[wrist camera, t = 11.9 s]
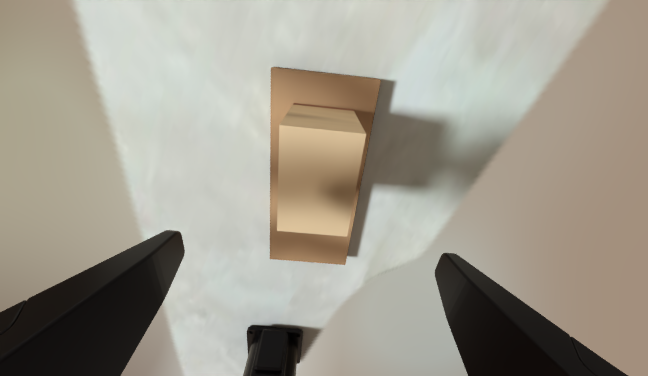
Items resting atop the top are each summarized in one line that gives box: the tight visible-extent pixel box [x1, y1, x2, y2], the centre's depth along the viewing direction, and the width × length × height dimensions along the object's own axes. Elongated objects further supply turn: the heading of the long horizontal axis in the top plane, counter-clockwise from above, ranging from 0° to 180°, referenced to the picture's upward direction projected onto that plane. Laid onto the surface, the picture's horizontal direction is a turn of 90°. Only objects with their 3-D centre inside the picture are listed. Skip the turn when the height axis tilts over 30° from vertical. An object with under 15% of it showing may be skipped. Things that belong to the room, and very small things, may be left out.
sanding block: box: [277, 103, 366, 237], centre depth 16 cm, size 6×4×6 cm, turn 174°
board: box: [270, 67, 381, 265], centre depth 20 cm, size 16×7×1 cm, turn 174°
